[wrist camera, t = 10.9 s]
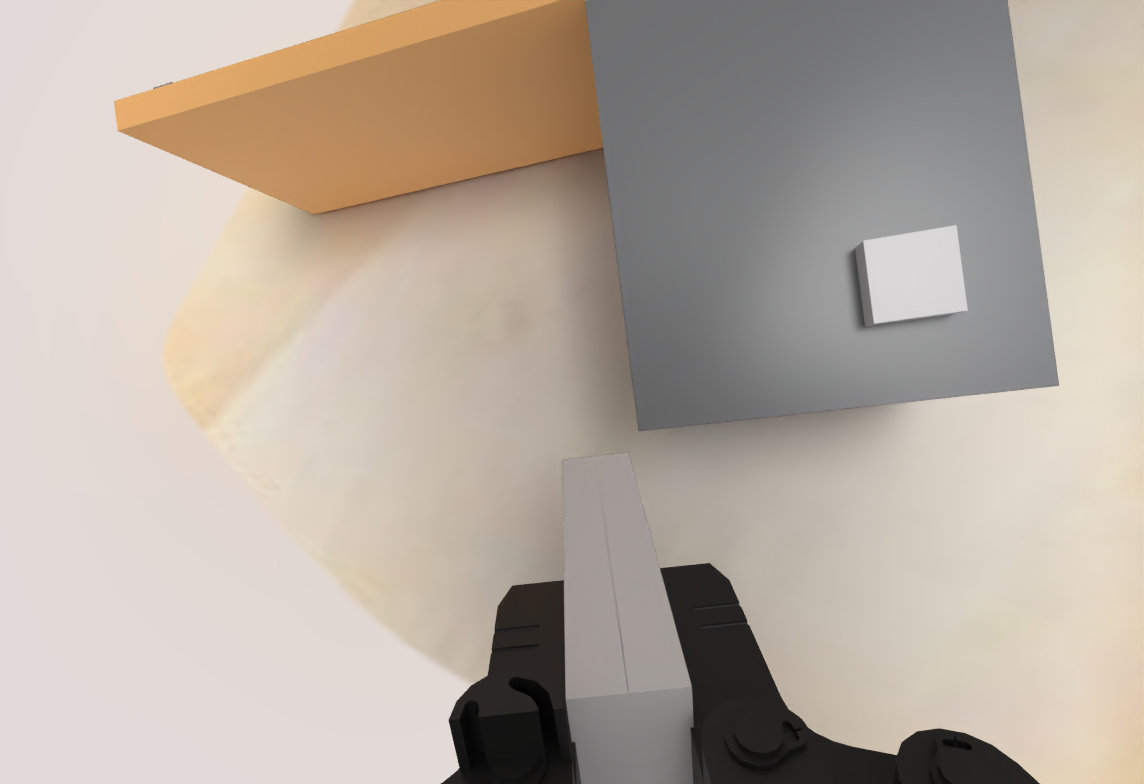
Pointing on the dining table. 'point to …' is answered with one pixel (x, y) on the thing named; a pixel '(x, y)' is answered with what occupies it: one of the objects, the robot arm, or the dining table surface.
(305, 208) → the side door
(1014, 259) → the block
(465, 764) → the robot arm
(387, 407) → the dining table surface
